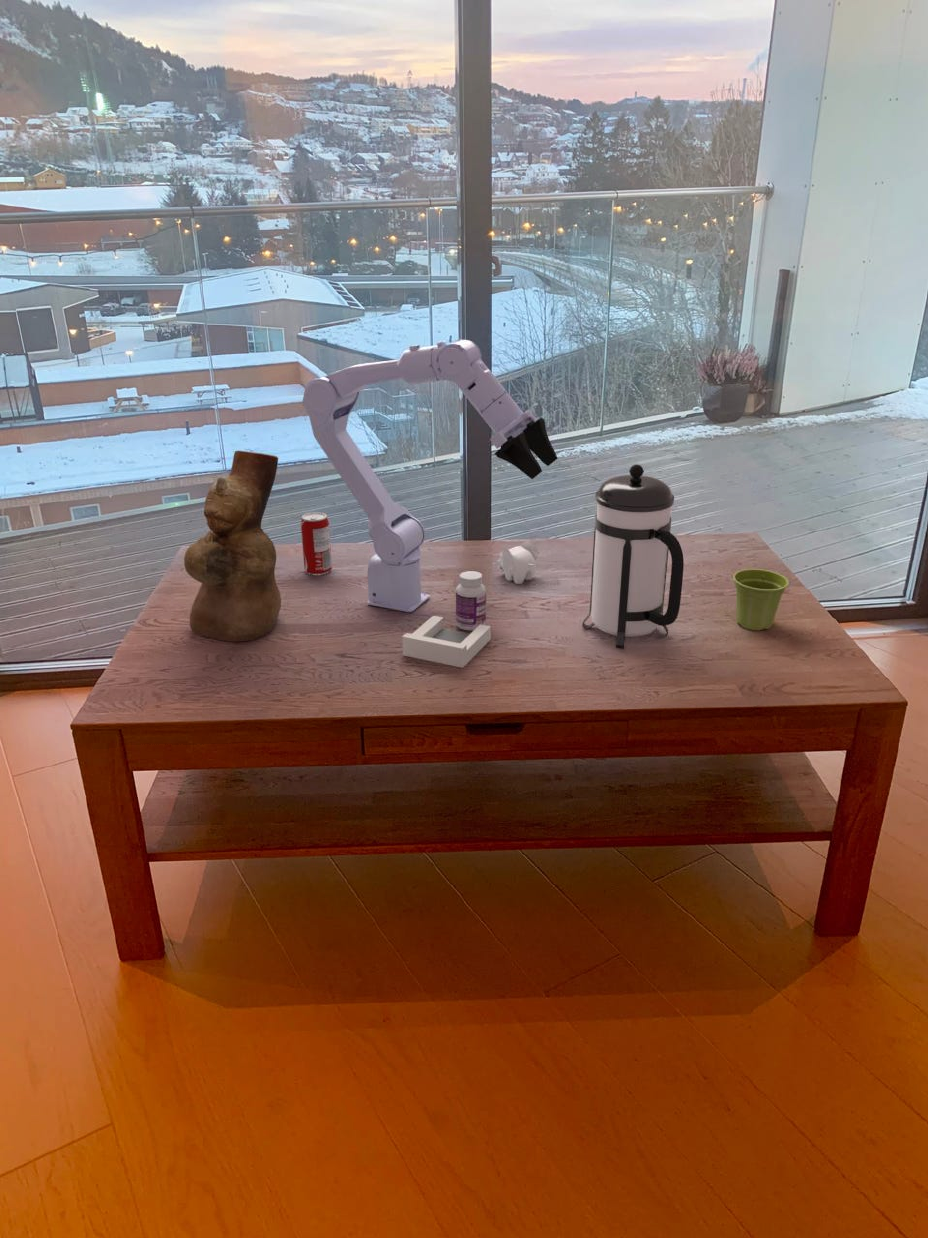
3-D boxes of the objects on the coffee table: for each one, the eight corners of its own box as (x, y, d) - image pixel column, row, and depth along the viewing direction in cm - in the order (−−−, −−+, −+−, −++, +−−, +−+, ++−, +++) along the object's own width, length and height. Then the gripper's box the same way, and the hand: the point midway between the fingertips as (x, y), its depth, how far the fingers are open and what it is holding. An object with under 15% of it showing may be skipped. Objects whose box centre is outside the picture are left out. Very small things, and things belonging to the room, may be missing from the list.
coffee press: (571, 645, 161) (579, 474, 148) (592, 609, 175) (601, 449, 162) (673, 661, 155) (691, 484, 143) (687, 622, 169) (704, 458, 157)
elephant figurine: (510, 566, 194) (510, 533, 191) (546, 578, 188) (547, 545, 185) (484, 576, 189) (485, 543, 186) (521, 589, 183) (521, 555, 180)
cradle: (403, 655, 158) (402, 636, 156) (433, 628, 167) (433, 610, 166) (462, 667, 154) (462, 648, 152) (490, 639, 163) (490, 621, 162)
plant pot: (785, 618, 171) (792, 573, 167) (778, 639, 163) (784, 592, 159) (732, 609, 174) (738, 565, 171) (723, 629, 166) (728, 584, 163)
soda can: (309, 565, 195) (304, 509, 190) (335, 566, 195) (331, 510, 190) (301, 575, 190) (296, 518, 185) (327, 576, 190) (323, 519, 185)
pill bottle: (482, 632, 166) (483, 581, 162) (453, 630, 167) (452, 579, 163) (488, 620, 171) (488, 570, 166) (459, 617, 172) (459, 568, 167)
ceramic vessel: (172, 633, 166) (147, 467, 154) (252, 590, 184) (236, 437, 171) (243, 652, 159) (223, 479, 147) (319, 605, 177) (307, 447, 164)
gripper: (493, 398, 147) (547, 467, 148) (526, 379, 159) (576, 443, 160) (463, 425, 151) (516, 492, 152) (497, 405, 163) (546, 467, 164)
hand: (545, 468), depth 157 cm, fingers open, 7 cm apart
